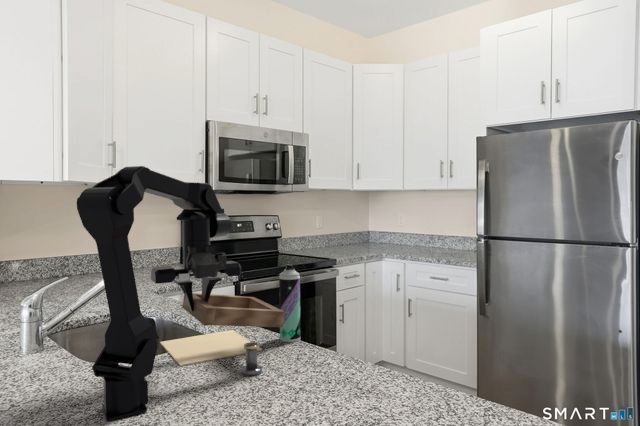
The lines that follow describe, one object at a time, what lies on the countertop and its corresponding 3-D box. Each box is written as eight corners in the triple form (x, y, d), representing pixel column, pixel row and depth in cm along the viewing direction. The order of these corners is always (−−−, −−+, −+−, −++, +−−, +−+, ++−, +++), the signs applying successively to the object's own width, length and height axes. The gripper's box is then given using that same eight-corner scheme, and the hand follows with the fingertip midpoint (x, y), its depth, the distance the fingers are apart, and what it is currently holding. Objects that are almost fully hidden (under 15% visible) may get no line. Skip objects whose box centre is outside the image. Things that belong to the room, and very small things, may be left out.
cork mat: (180, 366, 100) (180, 365, 100) (160, 343, 117) (160, 341, 117) (262, 350, 110) (262, 348, 110) (232, 330, 127) (232, 329, 127)
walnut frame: (203, 325, 91) (206, 307, 91) (182, 307, 106) (184, 292, 106) (282, 327, 100) (284, 311, 100) (251, 310, 115) (253, 297, 116)
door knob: (246, 377, 93) (245, 349, 93) (238, 371, 97) (238, 343, 97) (265, 373, 95) (265, 345, 95) (257, 366, 99) (256, 340, 99)
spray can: (275, 339, 119) (274, 264, 119) (291, 334, 123) (290, 262, 123) (289, 343, 115) (288, 266, 115) (304, 339, 119) (303, 264, 119)
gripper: (160, 245, 87) (161, 325, 87) (249, 240, 97) (251, 311, 97) (149, 241, 97) (151, 313, 97) (232, 237, 106) (233, 302, 107)
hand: (198, 310), depth 99 cm, fingers closed on walnut frame, 2 cm apart
